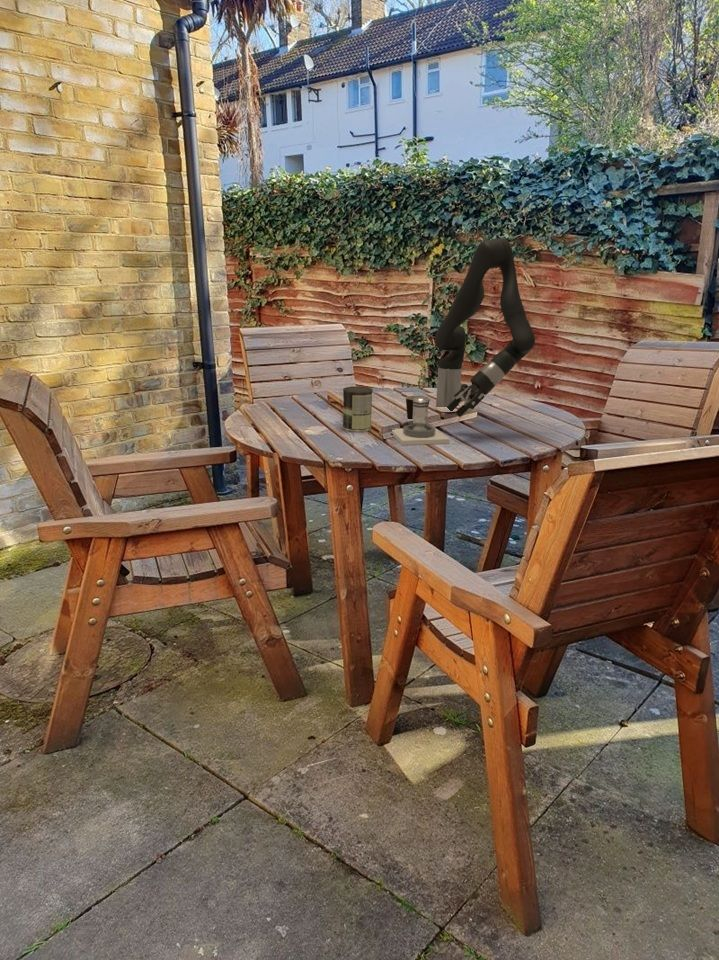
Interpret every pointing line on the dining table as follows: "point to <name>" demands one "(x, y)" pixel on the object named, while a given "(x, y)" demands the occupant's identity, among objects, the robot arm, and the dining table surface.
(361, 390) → the coffee can
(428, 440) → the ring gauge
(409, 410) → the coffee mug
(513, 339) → the robot arm
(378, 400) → the dining table surface
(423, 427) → the cylinder
